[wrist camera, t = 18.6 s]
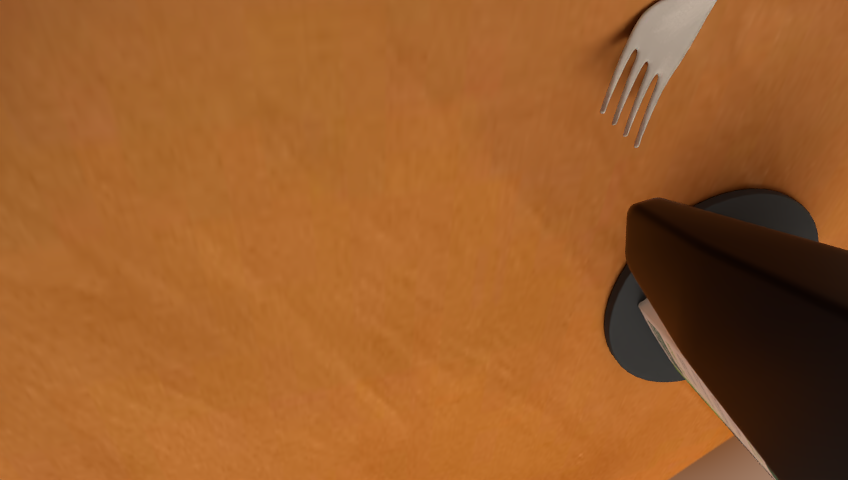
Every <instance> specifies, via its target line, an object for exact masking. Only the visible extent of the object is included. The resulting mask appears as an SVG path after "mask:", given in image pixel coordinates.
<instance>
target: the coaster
mask: <svg viewBox="0 0 848 480" xmlns="http://www.w3.org/2000/svg"><path fill="white" fill-rule="evenodd" d="M693 207H695V208H699V209H702V210H706V211H709V212H713V213H716V214H720V215H724V216H727V217H731V218H734V219H738V220H741V221H745V222H748V223H752V224H756V225H759V226H763V227H766V228H770V229H773V230H777V231H780V232H784V233H788V234H791V235H795V236H798V237H802V238H805V239H809V240H812V241H816V242H819V241H818V233H817V229H816V226H815V222H814V220H813V219H812V217H811V215H810V213H809V212H808V211H807V210H806V209H805V208H804V207H803V206H802V205H801V204H800V203H798V202H797V201H795V200H794V199H792V198H790V197H789V196H787V195H785V194H782V193H780V192H777V191H772V190H767V189H745V190H737V191H733V192H729V193H724V194H721V195H718V196H716V197H713V198H710V199H708V200H705V201H703V202H701V203H699V204H697V205H695V206H693ZM646 298H647V297H646V295H645V294H644V292H643V290H642V289H641V287H640V285H639V284H638V282H637V281H636V279H635V277H634V276H633V274H632V272H631V271H630V269H629V266H628V264H627V265H626V267H625V268H624V270H623V271H622V273H621V274H620V276H619V278H618V280H617V282H616V284H615V286H614V288H613V290H612V293H611V296H610V298H609V301H608V305H607V309H606V313H605V323H604V326H605V337H606V341H607V345H608V347H609V349H610V351H611V353H612V355H613V356H614V358H615V359H616V360H617V361H618V363H619V364H620V365H621V367H623V368H624V369H625V370H626V371H627V372H629V373H631V374H632V375H634V376H636V377H639V378H642V379H645V380H649V381H655V382H674V381H682V380H685V378H684V377H683V376H682V375H681V374H680V373H679V372H678V371H677V370H676V368H675V367H674V365H673V364H672V362H671V361H670V359H669V358H668V356H667V354H666V353H665V351H664V350H663V348H662V347H661V345H660V344H659V342H658V340H657V339H656V337H655V336H654V334H653V332H652V330H651V329H650V327H649V325H648V323H647V321H646V320H645V318H644V316H643V314H642V312H641V310H640V308H639V307H638V305H639V303H640V302H642V301H644V300H645V299H646Z"/></svg>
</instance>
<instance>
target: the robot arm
mask: <svg viewBox="0 0 848 480" xmlns="http://www.w3.org/2000/svg"><path fill="white" fill-rule="evenodd" d="M625 254H626V260H627V264H628V266H629V269H630V271H631V272H632V274H633V276H634V277H635V279H636V281H637V282H638V284H639V285H640V287H641V289H642V290H643V292H644V294H645V295H646V297H647V299H648V300H649V302H650V303H651V305H652V307H653V308H654V310H655V312H656V313H657V315H658V317H659V318H660V320H661V322H662V323H663V325H664V326H665V328H666V330H667V331H668V333H669V335H670V336H671V338H672V340H673V341H674V343H675V344H676V346H677V347H678V349H679V350H680V352H681V353H682V355H683V356H684V358H685V359H686V361H687V362H688V363H689V365H690V366H691V367H692V369H693V370H694V371H695V373H696V374H697V375H698V376H699V378H700V379H701V380H702V382H703V383H704V384H705V385H706V387H707V388H708V389H709V391H710V392H711V393H712V395H713V396H714V397H715V398H716V400H717V401H718V402H719V404H720V405H721V406H722V407H723V409H724V410H725V411H726V413H727V414H728V415H729V416H730V418H731V419H732V420H733V422H734V423H735V424H736V425H737V427H738V428H739V429H740V431H741V432H742V433H743V434H744V436H745V437H746V438H747V440H748V441H749V442H750V444H751V445H752V446H753V447H754V449H755V450H756V451H757V453H758V454H759V455H760V456H761V458H762V459H763V460H764V462H765V463H766V464H767V465H768V467H769V468H770V469H771V471H772V472H773V473H774V474H775V476H776V477H777V478H778V480H848V250H844V249H841V248H837V247H834V246H830V245H827V244H823V243H819V242H816V241H812V240H809V239H805V238H802V237H798V236H795V235H791V234H788V233H784V232H780V231H777V230H773V229H770V228H766V227H763V226H759V225H756V224H752V223H748V222H745V221H741V220H738V219H734V218H731V217H727V216H724V215H720V214H716V213H713V212H709V211H706V210H702V209H699V208H695V207H692V206H688V205H685V204H681V203H677V202H674V201H670V200H667V199H663V198H653V199H649V200H646V201H643V202H639V203H636V204H633V205H632V206H631V207H630V208H629V210H628V213H627V226H626V248H625Z"/></svg>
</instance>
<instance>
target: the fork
mask: <svg viewBox="0 0 848 480" xmlns="http://www.w3.org/2000/svg"><path fill="white" fill-rule="evenodd" d="M716 1H717V0H661V1H659V2H657V3H655V4H654V5H652V6H651V7H650V8H648V9H647V10H646V11H645V12H644V13H643V14H642V16H641V17H640V18H639V20H638V21H637V23H636V24H635V26H634V28H633V30H632V32H631V34H630V36H629V39H628V41H627V43H626V45H625V47H624V50H623V52H622V54H621V57H620V59H619V61H618V64H617V66H616V69H615V71H614V74H613V77H612V79H611V82H610V85H609V87H608V90H607V93H606V96H605V98H604V101H603V104H602V107H601V110H600V113H602V114H603V113H605V111H606V108H607V105H608V103H609V100H610V98H611V95H612V93H613V91H614V89H615V86H616V84H617V82H618V80H619V78H620V76H621V74H622V71H623V69H624V67H625V65H626V63H627V61H628V59H629V57H630V56H631V54H632V52H633V51H634V50H635V49H637V56H636V59H635V62H634V64H633V67H632V69H631V72H630V74H629V77H628V79H627V82H626V84H625V87H624V90H623V92H622V95H621V98H620V101H619V103H618V106H617V109H616V112H615V115H614V118H613V122H612V125H615V124H617V121H618V119H619V116H620V113H621V111H622V109H623V106H624V104H625V102H626V99H627V97H628V95H629V93H630V90H631V88H632V86H633V84H634V82H635V80H636V78H637V76H638V74H639V72H640V70H641V68H642V66H643V65H644V63H645V62H648V67H647V70H646V73H645V76H644V78H643V81H642V83H641V86H640V88H639V91H638V93H637V96H636V99H635V101H634V104H633V107H632V110H631V113H630V115H629V118H628V121H627V124H626V127H625V130H624V134H623V136H624V137H625V136H627V135H628V134H629V131H630V128H631V125H632V123H633V120H634V118H635V116H636V113H637V111H638V109H639V106H640V104H641V102H642V100H643V97H644V95H645V93H646V91H647V89H648V87H649V85H650V83H651V81H652V79H653V78H654V76H655V75H656V74H658V80H657V83H656V86H655V88H654V91H653V93H652V96H651V98H650V101H649V104H648V106H647V109H646V112H645V114H644V117H643V120H642V123H641V126H640V129H639V132H638V135H637V138H636V141H635V144H634V147H635V148H638V147H639V145H640V141H641V138H642V136H643V133H644V131H645V128H646V126H647V124H648V121H649V119H650V117H651V114H652V112H653V110H654V108H655V105H656V103H657V101H658V99H659V97H660V95H661V93H662V91H663V89H664V87H665V85H666V84H667V82H668V80H669V79H670V77H671V76H672V74H673V73H674V71H675V70H676V68H677V67H678V65H679V64H680V62H681V61H682V59H683V57H684V56H685V54H686V53H687V51H688V49H689V48H690V46H691V44H692V43H693V41H694V39H695V37H696V36H697V34H698V32H699V30H700V29H701V27H702V25H703V23H704V21H705V20H706V18H707V16H708V14H709V13H710V11H711V9H712V8H713V6H714V4H715V3H716Z"/></svg>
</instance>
